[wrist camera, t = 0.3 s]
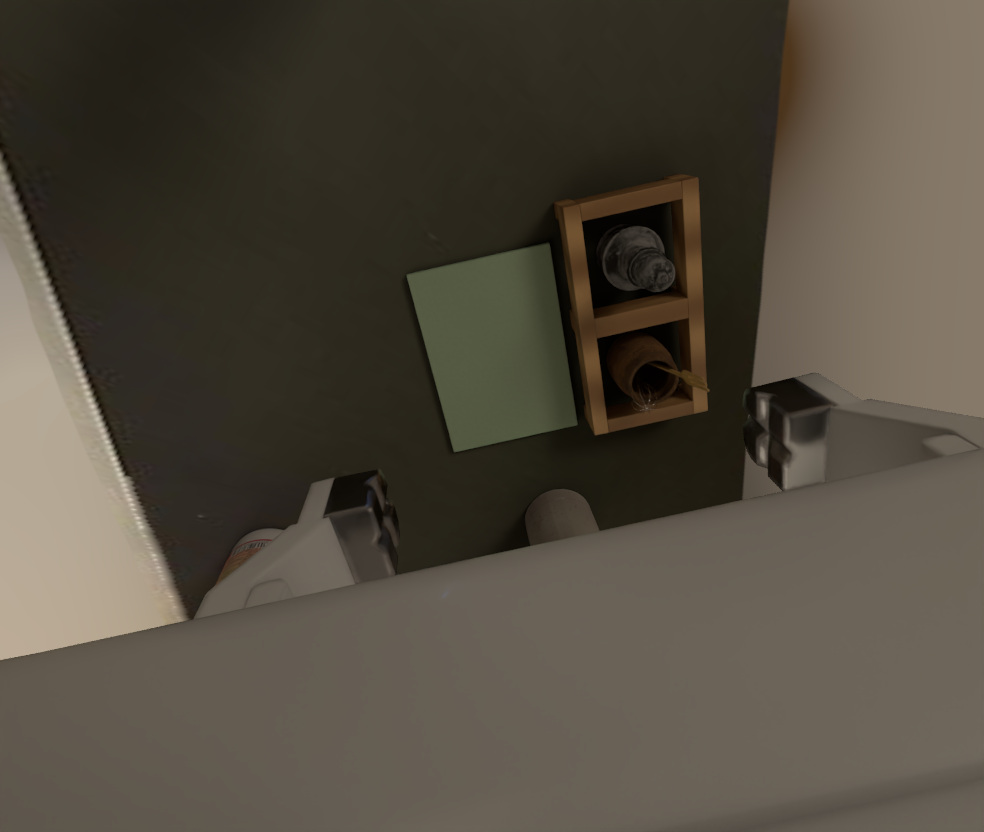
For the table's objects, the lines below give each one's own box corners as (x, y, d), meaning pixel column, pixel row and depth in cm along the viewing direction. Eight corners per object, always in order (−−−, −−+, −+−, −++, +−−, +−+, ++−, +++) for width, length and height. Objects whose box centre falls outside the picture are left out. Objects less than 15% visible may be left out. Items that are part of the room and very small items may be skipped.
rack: (553, 202, 55) (562, 207, 51) (679, 173, 55) (698, 177, 51) (584, 416, 65) (594, 435, 61) (691, 393, 65) (707, 410, 61)
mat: (406, 274, 57) (406, 275, 56) (548, 242, 56) (549, 243, 56) (453, 450, 66) (453, 452, 65) (576, 422, 65) (577, 425, 65)
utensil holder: (594, 347, 62) (628, 394, 51) (648, 317, 61) (694, 357, 50) (617, 391, 64) (654, 444, 53) (670, 362, 63) (718, 410, 52)
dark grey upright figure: (663, 254, 58) (715, 283, 47) (615, 294, 59) (655, 330, 49) (630, 207, 56) (677, 225, 45) (581, 249, 57) (615, 276, 46)
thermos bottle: (588, 540, 73) (670, 756, 48) (524, 545, 72) (573, 767, 47) (591, 486, 69) (681, 688, 44) (524, 491, 69) (576, 699, 44)
